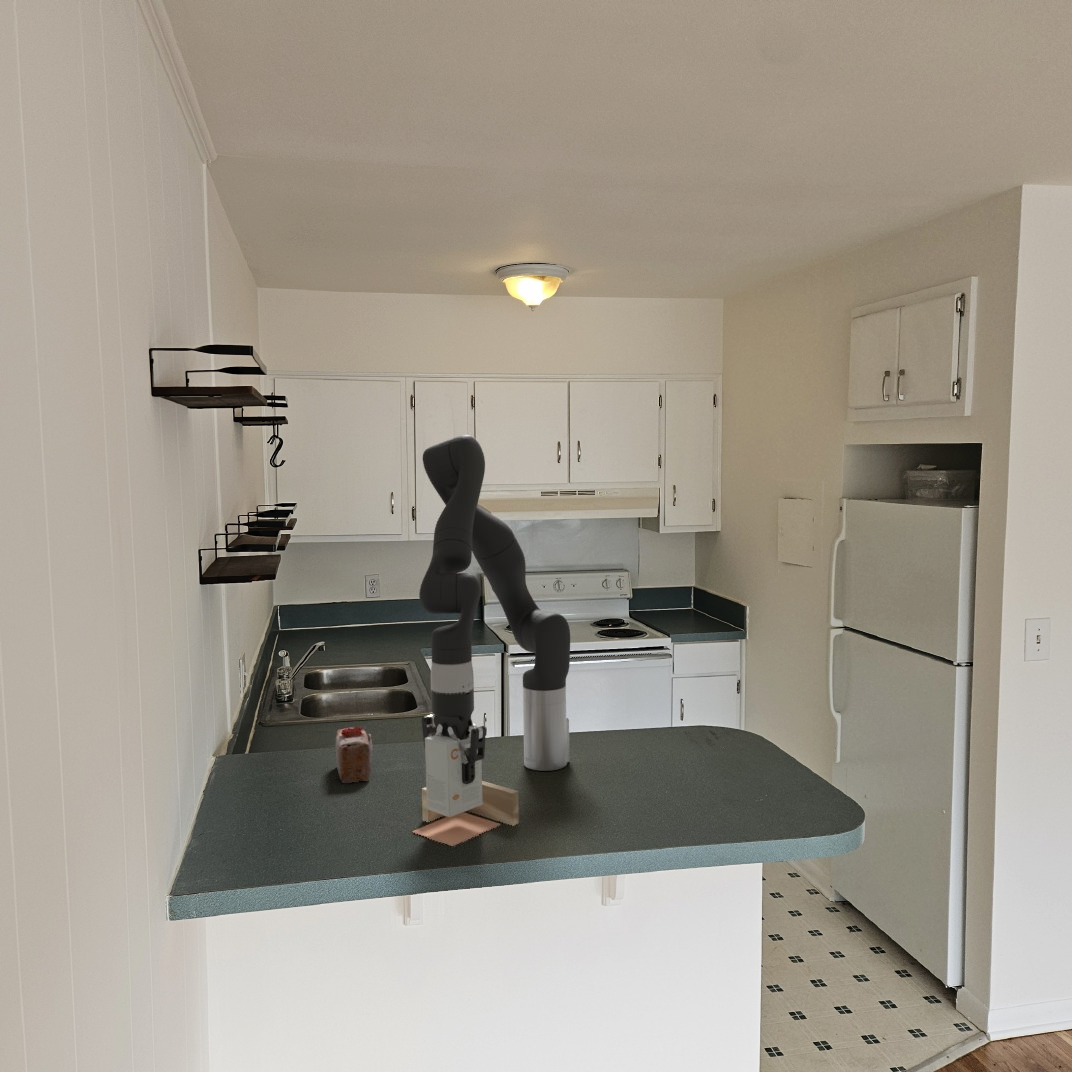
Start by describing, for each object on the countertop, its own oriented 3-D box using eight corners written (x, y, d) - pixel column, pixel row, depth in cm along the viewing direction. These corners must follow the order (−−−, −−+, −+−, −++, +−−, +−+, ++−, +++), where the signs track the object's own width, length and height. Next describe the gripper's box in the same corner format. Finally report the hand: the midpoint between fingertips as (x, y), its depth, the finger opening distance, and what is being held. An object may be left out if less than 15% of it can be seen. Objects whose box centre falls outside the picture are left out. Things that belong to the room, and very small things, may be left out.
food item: (333, 765, 203) (332, 720, 202) (370, 761, 205) (369, 717, 204) (337, 785, 189) (336, 738, 189) (377, 781, 192) (376, 734, 191)
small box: (459, 797, 170) (458, 727, 169) (483, 805, 166) (482, 733, 165) (425, 809, 165) (423, 737, 164) (449, 818, 160) (447, 744, 159)
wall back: (463, 806, 177) (462, 775, 176) (518, 823, 168) (518, 791, 167) (457, 808, 176) (456, 777, 175) (513, 826, 167) (512, 793, 166)
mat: (460, 812, 173) (460, 811, 173) (500, 825, 167) (500, 823, 167) (412, 832, 164) (412, 831, 164) (452, 847, 158) (452, 845, 158)
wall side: (457, 806, 177) (456, 775, 176) (463, 808, 176) (462, 777, 175) (422, 820, 170) (421, 788, 169) (428, 822, 169) (427, 790, 168)
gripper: (408, 684, 165) (410, 776, 167) (466, 696, 156) (468, 793, 157) (439, 676, 171) (441, 765, 172) (496, 687, 162) (498, 781, 163)
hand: (454, 778), depth 165 cm, fingers closed on small box, 6 cm apart
